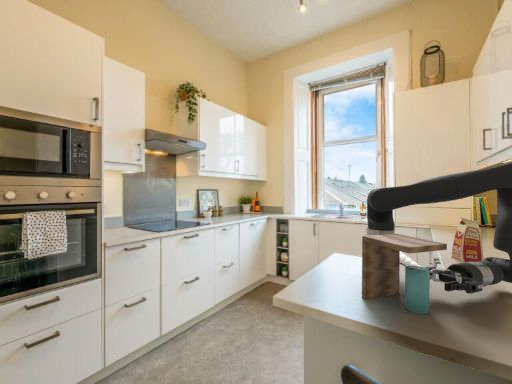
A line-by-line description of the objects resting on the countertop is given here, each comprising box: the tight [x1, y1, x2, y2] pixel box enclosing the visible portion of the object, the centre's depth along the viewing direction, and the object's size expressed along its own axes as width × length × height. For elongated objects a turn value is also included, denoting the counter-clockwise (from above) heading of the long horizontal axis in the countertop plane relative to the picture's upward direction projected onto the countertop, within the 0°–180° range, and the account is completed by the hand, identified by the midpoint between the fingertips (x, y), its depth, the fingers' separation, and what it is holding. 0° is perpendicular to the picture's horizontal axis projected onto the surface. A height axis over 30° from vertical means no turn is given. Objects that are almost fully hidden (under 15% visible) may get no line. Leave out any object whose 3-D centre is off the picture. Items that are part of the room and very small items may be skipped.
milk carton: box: [450, 217, 484, 263], centre depth 113 cm, size 9×9×20 cm
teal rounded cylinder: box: [404, 265, 431, 315], centre depth 68 cm, size 6×6×11 cm
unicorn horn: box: [400, 251, 422, 267], centre depth 105 cm, size 5×24×5 cm, turn 177°
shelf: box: [361, 233, 448, 300], centre depth 70 cm, size 13×16×18 cm
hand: (430, 281), depth 70 cm, fingers open, 8 cm apart
